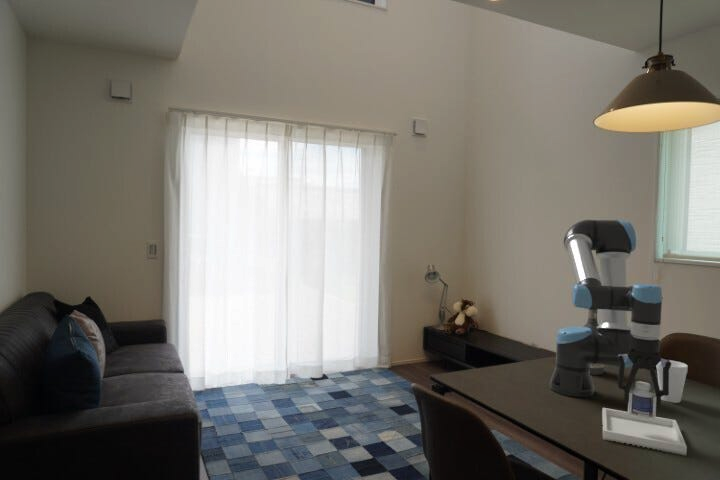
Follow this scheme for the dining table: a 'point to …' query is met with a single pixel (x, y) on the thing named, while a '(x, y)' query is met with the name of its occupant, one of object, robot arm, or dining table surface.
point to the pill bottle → (642, 400)
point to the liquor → (592, 325)
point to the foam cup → (673, 380)
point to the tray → (643, 431)
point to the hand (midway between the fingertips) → (641, 415)
